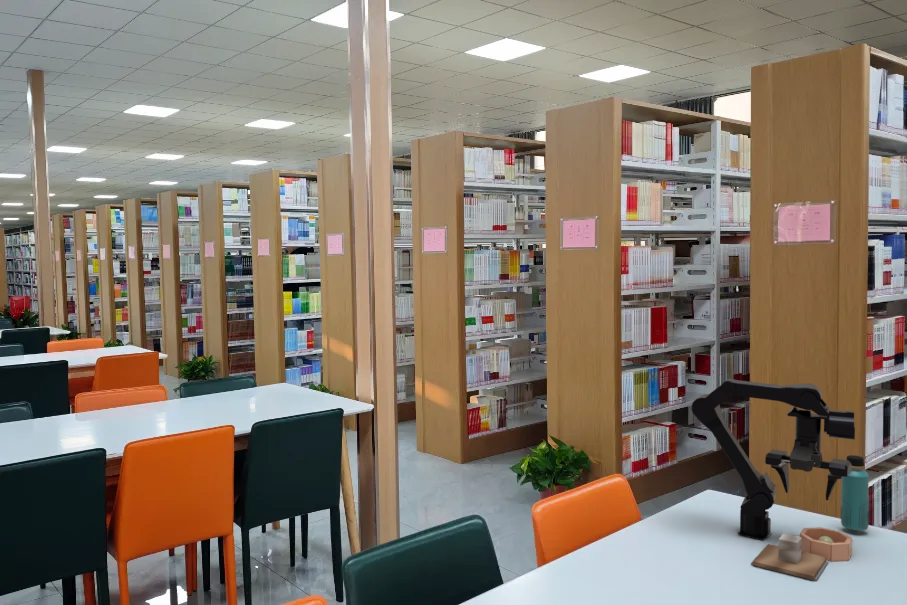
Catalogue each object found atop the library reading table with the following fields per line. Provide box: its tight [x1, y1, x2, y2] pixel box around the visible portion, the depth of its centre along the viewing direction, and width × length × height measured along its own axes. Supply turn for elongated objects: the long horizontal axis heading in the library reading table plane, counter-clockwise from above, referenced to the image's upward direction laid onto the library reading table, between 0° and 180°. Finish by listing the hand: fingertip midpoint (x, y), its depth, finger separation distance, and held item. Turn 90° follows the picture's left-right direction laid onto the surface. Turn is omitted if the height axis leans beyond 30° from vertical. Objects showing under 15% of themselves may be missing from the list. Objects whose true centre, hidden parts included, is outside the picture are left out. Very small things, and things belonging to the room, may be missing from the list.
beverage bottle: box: [840, 454, 870, 531], centre depth 185 cm, size 6×7×20 cm
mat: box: [750, 560, 829, 582], centre depth 166 cm, size 14×12×1 cm
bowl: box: [799, 526, 853, 562], centre depth 173 cm, size 11×11×4 cm
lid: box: [752, 533, 827, 581], centre depth 166 cm, size 13×13×6 cm
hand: (806, 496), depth 178 cm, fingers open, 9 cm apart
